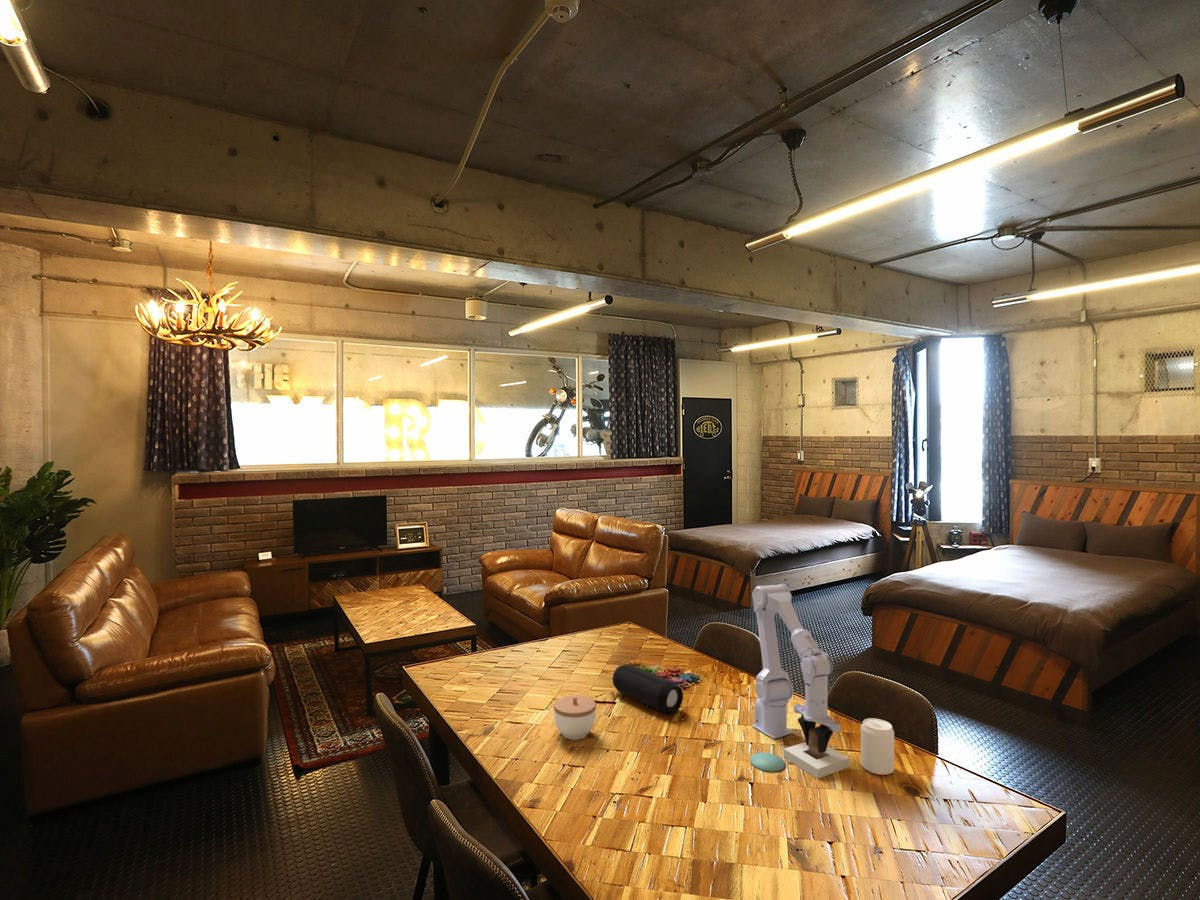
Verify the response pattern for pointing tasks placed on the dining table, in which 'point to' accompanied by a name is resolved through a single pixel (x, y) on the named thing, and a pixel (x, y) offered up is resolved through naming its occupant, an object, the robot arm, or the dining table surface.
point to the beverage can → (877, 746)
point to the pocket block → (818, 767)
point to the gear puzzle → (668, 673)
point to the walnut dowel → (814, 744)
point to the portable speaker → (648, 688)
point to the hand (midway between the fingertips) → (816, 748)
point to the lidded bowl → (574, 716)
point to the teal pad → (767, 762)
